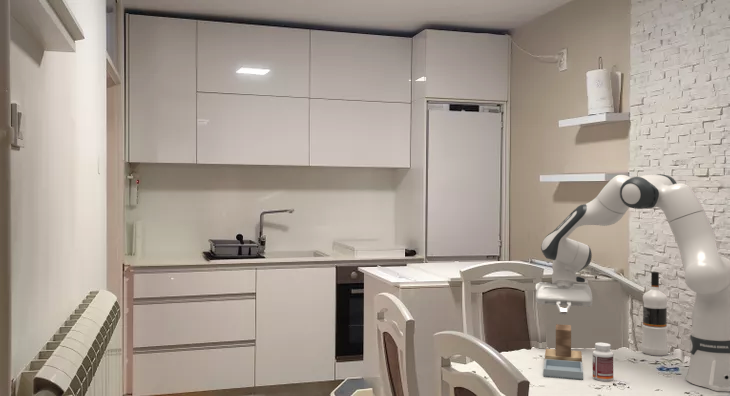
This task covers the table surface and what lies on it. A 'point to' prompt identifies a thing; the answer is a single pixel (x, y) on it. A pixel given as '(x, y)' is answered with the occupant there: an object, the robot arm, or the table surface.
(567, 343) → the walnut block
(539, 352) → the table surface
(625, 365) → the table surface
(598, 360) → the pill bottle
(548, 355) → the oak board
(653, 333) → the vodka
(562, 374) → the tray
